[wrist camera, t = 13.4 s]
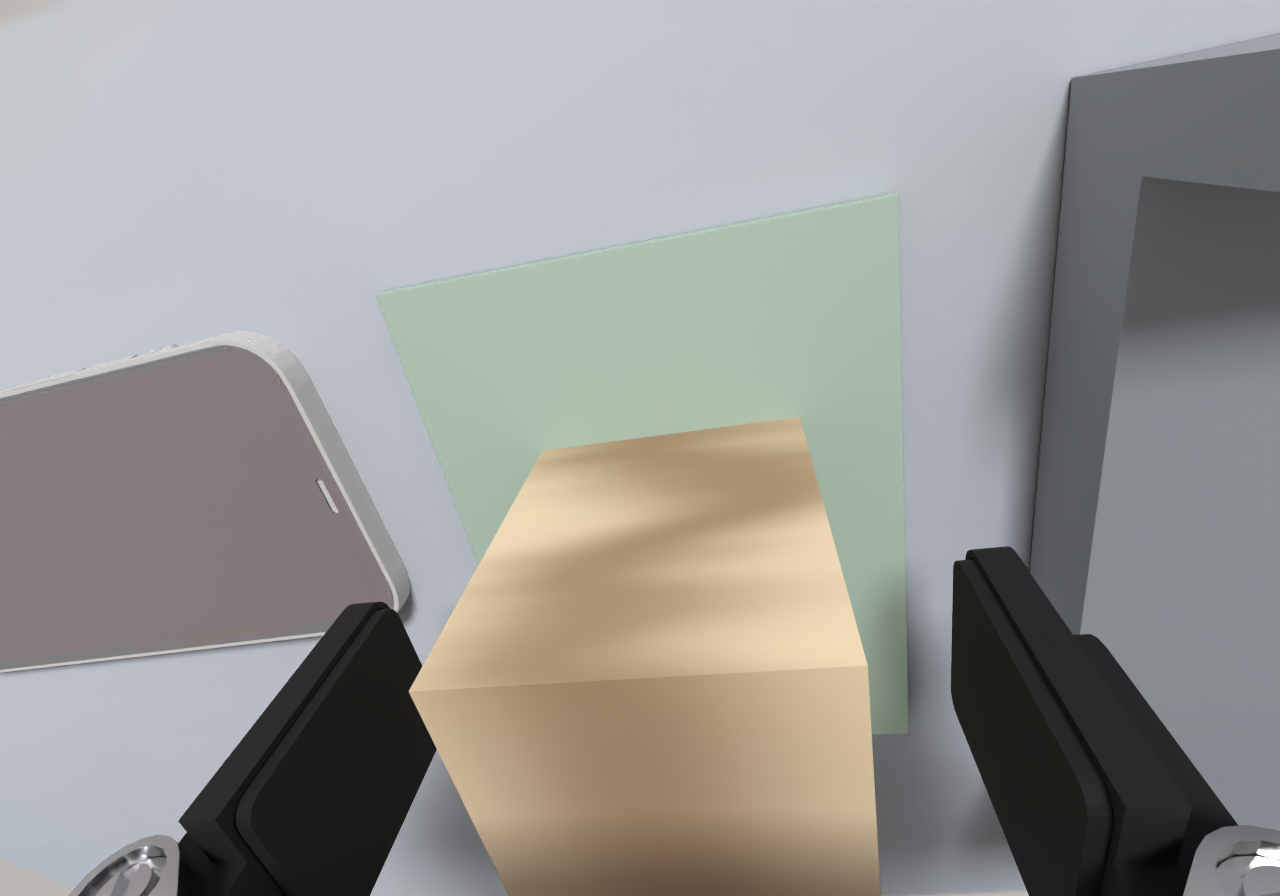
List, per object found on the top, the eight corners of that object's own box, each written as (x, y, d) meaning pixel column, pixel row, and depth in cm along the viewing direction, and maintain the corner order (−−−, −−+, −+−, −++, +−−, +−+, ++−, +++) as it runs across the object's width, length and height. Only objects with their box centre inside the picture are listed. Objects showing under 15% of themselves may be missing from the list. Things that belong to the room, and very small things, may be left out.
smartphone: (-258, 454, 15) (259, 325, 12) (-208, 438, 16) (290, 312, 13) (-44, 679, 18) (414, 627, 15) (-11, 655, 19) (431, 601, 16)
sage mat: (891, 193, 10) (898, 195, 10) (904, 719, 15) (909, 733, 15) (386, 290, 12) (375, 296, 11) (550, 733, 17) (547, 746, 16)
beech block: (800, 416, 11) (867, 665, 6) (820, 625, 14) (883, 943, 8) (542, 451, 12) (408, 691, 7) (598, 640, 15) (528, 934, 9)
